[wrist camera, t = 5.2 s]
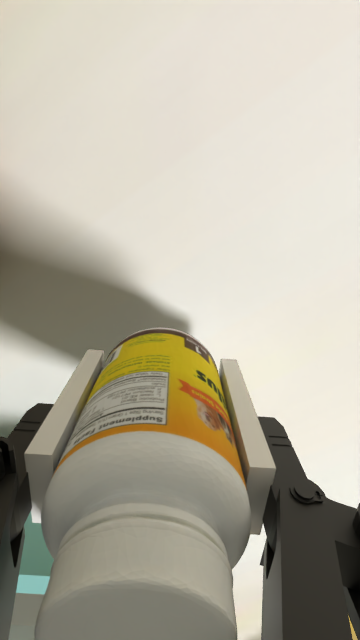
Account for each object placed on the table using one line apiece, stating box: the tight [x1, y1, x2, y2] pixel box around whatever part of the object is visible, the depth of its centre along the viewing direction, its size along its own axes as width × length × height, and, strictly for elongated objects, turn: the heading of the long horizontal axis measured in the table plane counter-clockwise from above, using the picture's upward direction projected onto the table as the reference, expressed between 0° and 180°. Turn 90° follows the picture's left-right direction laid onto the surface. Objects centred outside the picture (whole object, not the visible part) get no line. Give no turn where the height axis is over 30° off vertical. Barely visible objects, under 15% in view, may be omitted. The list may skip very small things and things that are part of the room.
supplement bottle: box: [34, 327, 251, 640], centre depth 11 cm, size 6×6×10 cm
